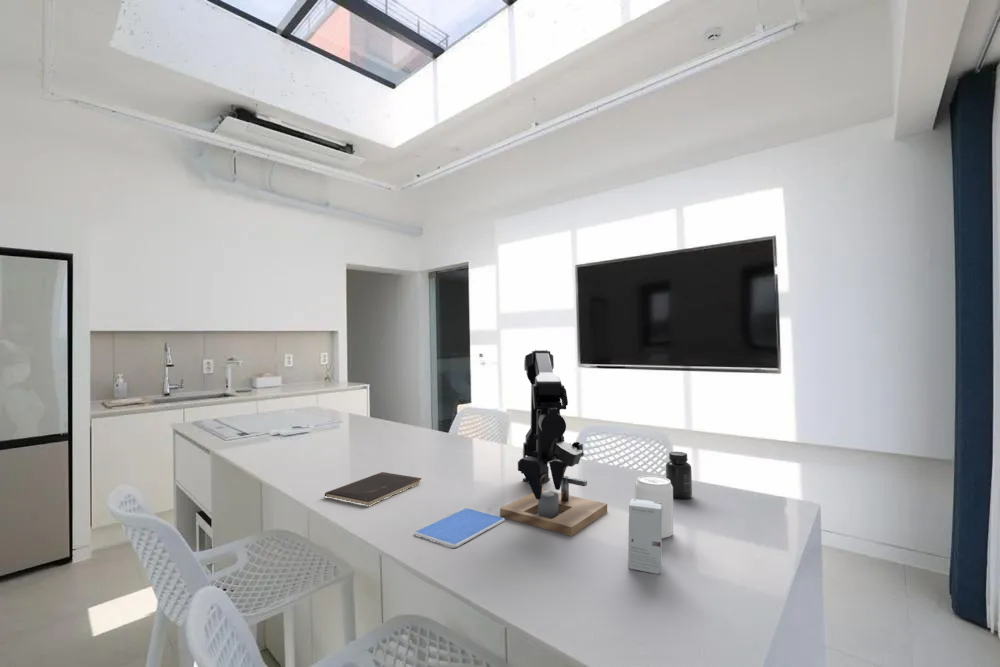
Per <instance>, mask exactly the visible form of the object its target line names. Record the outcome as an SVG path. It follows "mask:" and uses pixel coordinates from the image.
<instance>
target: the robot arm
mask: <svg viewBox="0 0 1000 667" xmlns="http://www.w3.org/2000/svg"><path fill="white" fill-rule="evenodd" d="M523 362H524V364H523V365H524V366H523V368H524V372H525V371H526V377H527V379H528V382H530V391H531V392H530V393H531V394H530V428H529V430H528V432H526V434H525V438H524V439H525V442H523V443H522V444H523V446H522V458H520V459H519V460H518V461H517V471H519V472H520V473H521V474H523V475H524V478H522V481H523V482H528V484H529V486H530V489H531V491H532V493H534V495H535V498H536V499H538V500H540V499H541V493H542V489H543V483H545V482H548V481H550V480H551V478H552V483H553V485H554V489H555V490H557V491H561V483H562V480H563V477H564V476H565V473H566V471H567V468H568V467H570V468H572V467H574V466H575V465H579V464H580V461H581V458H583V456H584V455H585V453H584V446H583V443H582V442H581V441H578V440H577V441H574V442H572V443H571V442H569V443H568V442H565V436H564V434H565V432H566V430H567V429H566V428H567V423H566V420H565V419H564V417H563V416H562V415H561V410H567V406H568V404H569V403H568V402H569V400H568V396H567V389H566V388H565V385H564V384H563V383H562V380H561V379H560V377H559V375H555V374H554V370H553V369H555V368H554V366H555V365H554V362H555V361H554V355H553V354H552V353H551V351H550V350H548V349H534V350H532V351H531V352H530V353H528V354H526V355H525V357H524V361H523ZM548 465H549V466H548ZM549 469H550V471H549ZM549 473H551V478H550V476H549V475H550V474H549Z"/></svg>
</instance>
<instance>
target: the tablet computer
mask: <svg viewBox="0 0 1000 667" xmlns="http://www.w3.org/2000/svg"><path fill="white" fill-rule="evenodd" d="M505 521H506V520H505V517H501V516H499V515H495V514H494V515H493V514H490V513H487V512H482V511H481V510H477V509H476V510H475V509H471V508H467V507H466V508H463V509H461V510H459V511H456V512H455V513H453V514H451V515H449V516H446V517H445V518H444V517H443V518H442V519H440V520H437V521H435V522H433V523H431V524H429V525H426V526H424V527H422V528H420V529H418V530H416V531H414V534H415V535H417V536H420V537H423V538H426V539H429V540H432V541H435V542H437V543H436V544H438V543H441V544H443V545H442V546H444V545H446V546H445V547H447V546H448V547H447V548H451V549H455V548H458V547H460V546H462V545H464V544H465V543H467V542H469V541H470V540H472V539H474V538H476V537H478V536H479V535H481V534H483V533H485V532H487V531H489V530H490V529H492V528H495V527H496V526H498V525H500V524H502V523H504V522H505ZM414 534H413V535H414ZM415 535H414V536H415ZM417 536H416V537H417ZM420 537H419V538H420ZM423 538H422V539H423ZM426 539H425V540H426ZM429 540H428V541H429ZM432 541H431V542H432ZM435 542H434V543H435ZM441 544H440V545H441Z"/></svg>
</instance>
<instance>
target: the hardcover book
mask: <svg viewBox="0 0 1000 667" xmlns="http://www.w3.org/2000/svg"><path fill="white" fill-rule="evenodd" d="M421 480H422V477H415V476H411V475H410V476H409V475H402V474H398V473H391V472H390V473H389V472H386V471H382V472H378V473H376V474H372V475H369V476H368V477H364V478H362V479H359V480H355V481H353V482H350V483H348V484H345V485H343V486H340V487H337V488H334V489H332V490H329V491H327V492H325V493H324V497H325V496H327V497H332V498H337V499H342V500H346V501H351V502H355V503H361V504H365V505H368V506H369V505H371V504H373V503H375V502H377V501H380V500H382V499H384V498H386V497H389V496H391V495H393V494H396V493H398V492H400V491H403V490H405V489H407V488H410V487H412V486H414V487H416V486H418V485H417V484H419V483H420V484H421ZM420 484H419V485H420ZM415 485H416V486H415ZM412 488H413V487H412ZM410 489H411V488H410ZM407 490H408V489H407ZM405 491H406V490H405ZM403 492H404V491H403ZM396 495H397V494H396ZM369 507H370V506H369Z"/></svg>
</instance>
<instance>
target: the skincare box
mask: <svg viewBox="0 0 1000 667" xmlns="http://www.w3.org/2000/svg"><path fill="white" fill-rule="evenodd" d="M628 514H629V515H628V543H627V544H628V546H627V548H628V552H627V553H628V554H627V558H628V560H627V569H629V570H630V569H632V570H636V571H641V572H646V573H652V574H656V575H659V574H661V568H662V552H663V551H662V548H663V546H662V542H663V541H662V539H663V538H662V503H659V502H652V501H647V500H638V499H635V498H631V500H630V502H629V505H628Z"/></svg>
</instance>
